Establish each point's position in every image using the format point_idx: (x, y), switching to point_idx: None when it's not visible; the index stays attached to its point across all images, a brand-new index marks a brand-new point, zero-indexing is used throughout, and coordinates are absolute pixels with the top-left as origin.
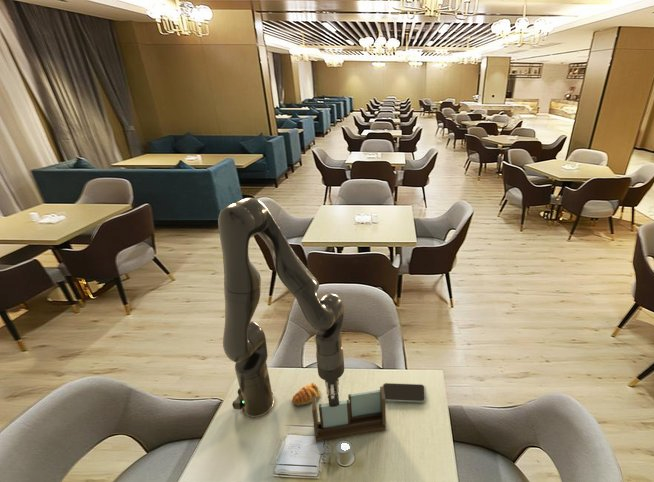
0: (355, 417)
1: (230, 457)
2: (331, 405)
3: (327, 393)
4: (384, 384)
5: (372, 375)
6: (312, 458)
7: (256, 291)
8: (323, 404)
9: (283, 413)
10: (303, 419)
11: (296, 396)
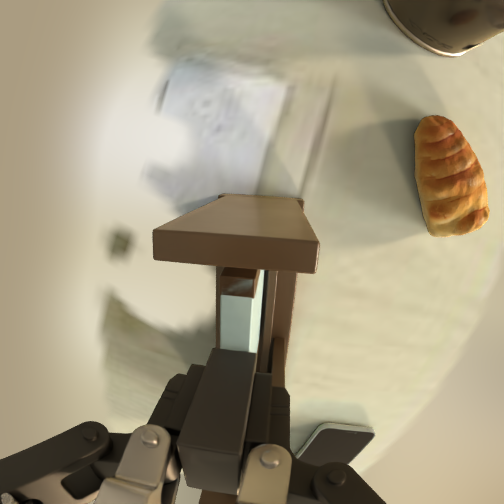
0: (263, 365)
1: None
2: (189, 376)
3: (103, 483)
4: (372, 434)
5: (425, 402)
6: (162, 180)
7: None
8: (244, 313)
9: (391, 76)
10: (346, 149)
11: (449, 133)
